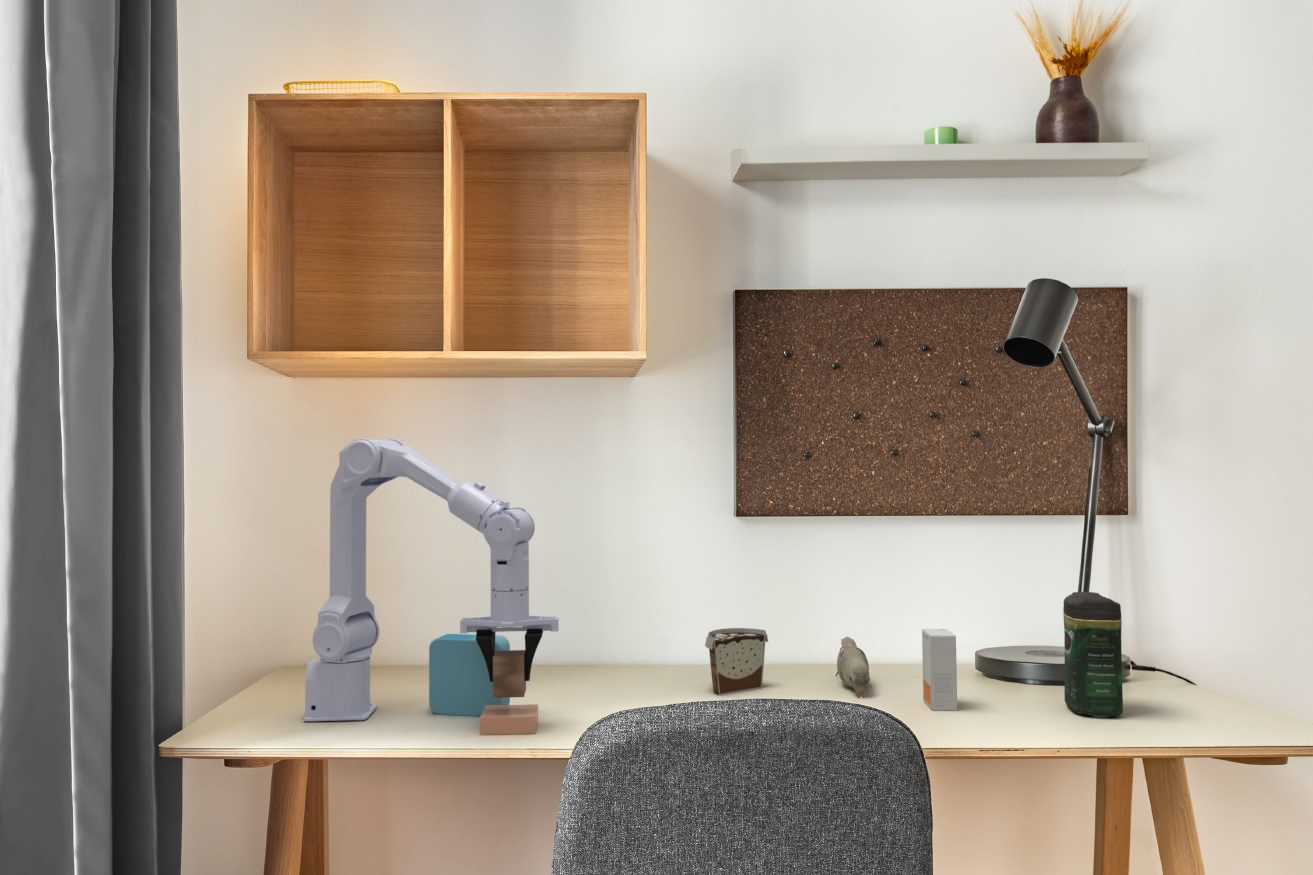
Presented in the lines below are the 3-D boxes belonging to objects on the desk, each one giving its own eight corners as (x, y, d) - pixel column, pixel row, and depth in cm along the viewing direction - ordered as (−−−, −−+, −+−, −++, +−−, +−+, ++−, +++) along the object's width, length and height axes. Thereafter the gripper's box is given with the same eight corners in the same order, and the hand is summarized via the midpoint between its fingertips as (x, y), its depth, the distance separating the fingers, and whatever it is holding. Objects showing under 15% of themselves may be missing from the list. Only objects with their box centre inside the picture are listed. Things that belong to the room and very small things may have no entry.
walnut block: (493, 697, 137) (492, 656, 137) (496, 690, 141) (496, 650, 141) (523, 697, 137) (523, 656, 137) (526, 689, 141) (525, 649, 142)
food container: (747, 680, 169) (746, 625, 169) (768, 686, 164) (768, 630, 164) (691, 689, 162) (691, 631, 163) (711, 696, 157) (711, 637, 158)
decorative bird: (845, 699, 156) (845, 654, 156) (832, 677, 172) (832, 636, 172) (877, 699, 155) (877, 654, 155) (861, 677, 171) (861, 636, 172)
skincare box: (922, 701, 154) (921, 628, 154) (948, 701, 153) (947, 628, 154) (931, 710, 147) (929, 634, 148) (958, 711, 147) (957, 635, 148)
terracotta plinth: (480, 734, 135) (480, 717, 136) (485, 721, 142) (485, 705, 142) (535, 733, 136) (535, 716, 136) (538, 720, 143) (538, 704, 143)
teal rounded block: (510, 710, 149) (510, 635, 150) (500, 717, 145) (500, 640, 145) (440, 706, 152) (440, 633, 152) (428, 714, 147) (428, 638, 147)
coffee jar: (1130, 720, 141) (1127, 597, 142) (1074, 717, 143) (1072, 596, 143) (1111, 704, 151) (1109, 589, 151) (1059, 701, 152) (1057, 588, 153)
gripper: (457, 593, 135) (457, 687, 135) (557, 591, 136) (557, 684, 136) (463, 587, 142) (463, 676, 142) (558, 585, 143) (559, 674, 143)
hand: (509, 679), depth 139 cm, fingers closed on walnut block, 4 cm apart
